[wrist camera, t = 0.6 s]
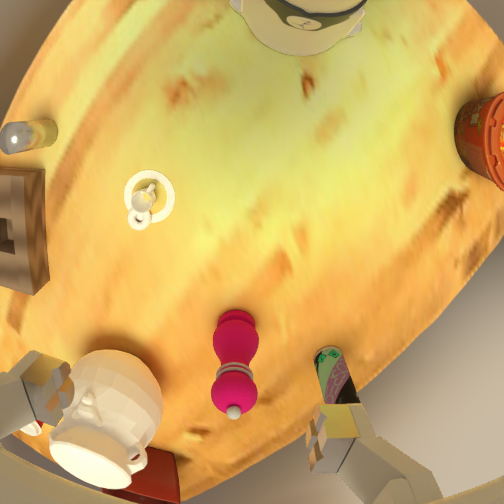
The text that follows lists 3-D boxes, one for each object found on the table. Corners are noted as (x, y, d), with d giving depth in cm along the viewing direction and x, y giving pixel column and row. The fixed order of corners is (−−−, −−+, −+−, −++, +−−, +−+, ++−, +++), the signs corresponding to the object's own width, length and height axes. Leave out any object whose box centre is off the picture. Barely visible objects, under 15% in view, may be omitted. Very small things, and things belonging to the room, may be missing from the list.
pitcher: (167, 336, 53) (133, 454, 30) (174, 403, 60) (155, 504, 37) (76, 324, 53) (14, 418, 29) (95, 389, 59) (57, 478, 36)
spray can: (346, 347, 55) (378, 431, 37) (334, 368, 57) (360, 451, 39) (320, 343, 55) (346, 431, 36) (309, 365, 57) (329, 451, 38)
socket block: (-3, 166, 40) (-24, 173, 35) (45, 169, 42) (24, 176, 36) (5, 268, 48) (-12, 281, 42) (49, 279, 49) (33, 295, 43)
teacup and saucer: (142, 234, 47) (134, 244, 43) (111, 194, 44) (100, 200, 40) (186, 202, 45) (181, 209, 41) (154, 158, 42) (146, 161, 39)
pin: (38, 119, 38) (0, 123, 29) (59, 119, 39) (21, 121, 29) (36, 146, 40) (-2, 154, 31) (56, 147, 40) (19, 154, 31)
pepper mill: (213, 307, 51) (200, 398, 33) (257, 306, 51) (264, 398, 33) (216, 341, 54) (207, 433, 35) (257, 341, 54) (263, 433, 36)
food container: (516, 132, 40) (555, 140, 30) (484, 198, 45) (522, 215, 35) (468, 73, 37) (509, 69, 27) (431, 143, 42) (472, 151, 32)
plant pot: (115, 429, 65) (99, 482, 50) (187, 449, 68) (180, 504, 52) (116, 460, 72) (104, 504, 56) (177, 476, 75) (171, 522, 59)
